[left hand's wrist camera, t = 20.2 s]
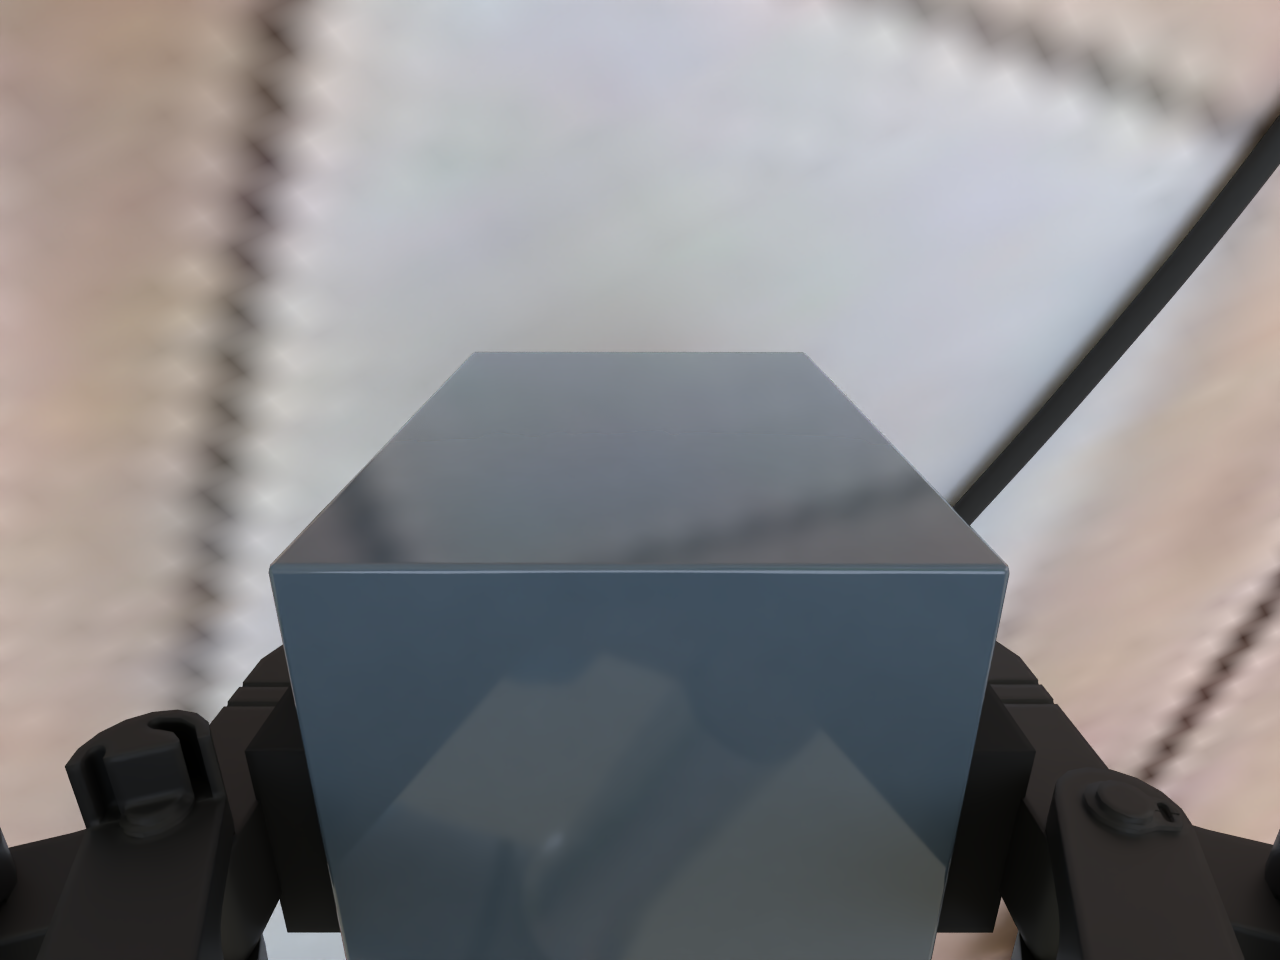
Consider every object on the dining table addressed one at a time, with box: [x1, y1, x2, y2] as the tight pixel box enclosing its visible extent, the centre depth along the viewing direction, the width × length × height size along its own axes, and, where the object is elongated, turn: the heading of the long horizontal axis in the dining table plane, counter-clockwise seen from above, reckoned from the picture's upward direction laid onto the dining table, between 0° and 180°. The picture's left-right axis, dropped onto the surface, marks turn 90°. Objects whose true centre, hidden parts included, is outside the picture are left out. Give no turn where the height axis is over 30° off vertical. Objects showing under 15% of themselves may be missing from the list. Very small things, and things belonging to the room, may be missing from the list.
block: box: [269, 352, 1009, 960], centre depth 13 cm, size 7×7×10 cm
